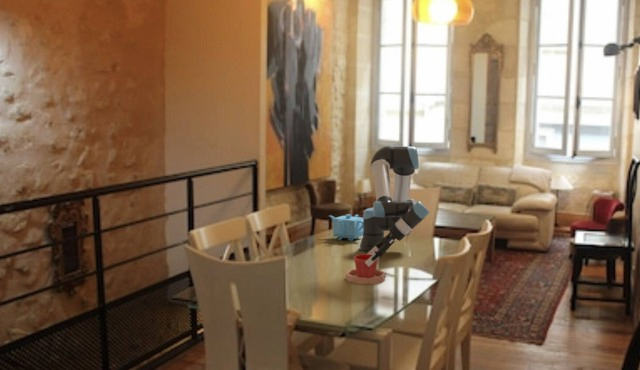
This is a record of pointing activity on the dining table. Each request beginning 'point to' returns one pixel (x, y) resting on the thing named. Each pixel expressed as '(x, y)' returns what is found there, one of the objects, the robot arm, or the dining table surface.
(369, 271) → the flower pot
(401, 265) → the dining table surface
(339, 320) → the dining table surface
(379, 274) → the terracotta saucer
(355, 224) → the teakettle
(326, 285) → the dining table surface
